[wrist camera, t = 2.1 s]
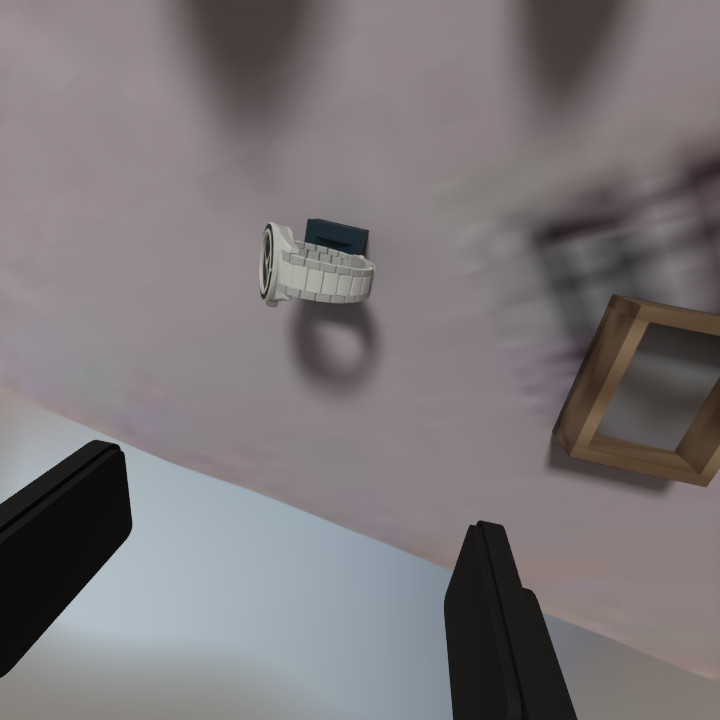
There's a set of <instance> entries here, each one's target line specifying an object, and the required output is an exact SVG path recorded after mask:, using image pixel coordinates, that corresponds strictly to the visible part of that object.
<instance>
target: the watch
mask: <svg viewBox="0 0 720 720" xmlns="http://www.w3.org/2000/svg"><path fill="white" fill-rule="evenodd" d="M368 232H369V230H365V229H360V228H356V227H352V226H347V225H343V224H339V223H334V222H330V221H326V220H321V219H308V222H307V229H306V236H305V242H299V241H295V240H294V236H293V233H292V230H291V229H290V228H289V227H287V226H284V225H278V224H275V223H274V222H269V223H268V224H267V226H266V229H265V232H264V236H263V241H262V247H261V254H260V268H259V282H260V293H261V297H262V299H263V301H266V305H267V306H269V307H277V306H278V301H282V300H292V296H294V297H300V298H302V299H307V300H315V301H319V302H330V303H354V302H360V301H363V300H366V299H367V298H369V296H370V293H371V289H372V285H373V280H374V275H375V270H376V267H375V265H374V264H373V263H372V262H370V261H369V260H367V259H365V258H364V251H365V246H366V241H367V237H368ZM315 295H316V297H315Z"/></svg>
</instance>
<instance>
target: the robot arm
mask: <svg viewBox="0 0 720 720" xmlns="http://www.w3.org/2000/svg"><path fill="white" fill-rule="evenodd" d="M131 530H132V516H131V507H130V499H129V489H128V481H127V472H126V463H125V455H124V452H122V451H121V449H120V447H119V445H117V444H114V443H109V442H104V441H99V440H93V441H91V442H89V443H87V444H86V445H84V446H83V447H82V448H80V449H79V450H77V451H76V452H74V453H73V454H72V455H70V456H69V457H67V458H66V459H64V460H63V461H61V462H60V463H59V464H58V465H56V466H54V467H53V468H51V469H50V470H49V471H47V472H46V473H44V474H43V475H41V476H40V477H39V478H37V479H36V480H34V481H33V482H31V483H30V484H28V485H27V486H26V487H24V488H23V489H21V490H20V491H18V492H17V493H16V494H14V495H13V496H11V497H10V498H8V499H7V500H6V501H4V502H3V503H1V504H0V678H1V677H3V676H4V675H6V674H7V673H8V672H9V671H10V670H11V669H12V668H13V667H14V666H15V665H16V664H17V662H18V661H19V660H20V659H21V658H22V657H23V656H24V654H25V653H26V652H27V651H28V650H29V649H30V647H32V645H33V644H34V643H35V642H36V641H37V640H38V639H39V637H40V636H41V635H42V634H43V633H44V632H45V631H46V630H47V628H48V627H49V626H50V625H51V624H52V623H53V622H54V620H55V619H56V618H57V617H58V616H59V615H60V614H61V613H62V611H63V610H64V609H65V608H66V607H67V606H68V605H69V604H70V602H71V601H72V600H73V599H74V598H75V597H76V596H77V595H78V593H79V592H80V591H81V590H82V589H83V588H84V587H85V586H86V584H87V583H88V582H89V581H90V580H91V579H92V578H93V576H94V575H95V574H96V573H97V572H98V571H99V570H100V569H101V567H102V566H103V565H104V564H105V563H106V562H107V561H108V559H109V558H110V557H111V556H112V555H113V554H114V553H115V551H116V550H117V549H118V548H119V547H120V546H121V545H122V544H123V543H124V541H125V540H126V539H127V538H128V536H129V534H130V532H131ZM444 616H445V628H446V640H447V651H448V663H449V675H450V686H451V698H452V710H453V720H577V717H576V714H575V711H574V708H573V705H572V702H571V699H570V696H569V693H568V690H567V687H566V684H565V681H564V678H563V675H562V672H561V669H560V666H559V663H558V660H557V657H556V654H555V651H554V648H553V645H552V642H551V639H550V636H549V633H548V630H547V627H546V624H545V621H544V618H543V615H542V612H541V609H540V606H539V603H538V600H537V598H536V596H535V594H534V593H533V591H532V590H529V589H526V588H522V584H521V581H520V578H519V575H518V571H517V568H516V565H515V561H514V558H513V555H512V551H511V548H510V545H509V542H508V538H507V535H506V532H505V529H504V527H503V526H502V525H500V524H495V523H490V522H485V521H478V522H477V524H476V526H475V525H470V526H469V528H468V531H467V534H466V537H465V539H464V542H463V545H462V548H461V551H460V554H459V557H458V560H457V563H456V566H455V569H454V572H453V575H452V577H451V580H450V583H449V586H448V589H447V592H446V595H445V600H444Z"/></svg>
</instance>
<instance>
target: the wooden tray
mask: <svg viewBox="0 0 720 720" xmlns="http://www.w3.org/2000/svg"><path fill="white" fill-rule="evenodd" d="M553 432H554V434H555V435H556V437H557V438H558V440H559V441H560V443H561V445H562V446H563V448H564V449H565V451H566V452H567V454H568V456H569V457H574V458H578V459H582V460H587V461H591V462H596V463H600V464H605V465H609V466H613V467H618V468H622V469H627V470H631V471H636V472H640V473H644V474H649V475H653V476H658V477H662V478H667V479H671V480H676V481H680V482H684V483H689V484H693V485H698V486H702V487H707V486H708V484H709V483H710V481H711V480H712V479H713V477H714V476H715V474H716V473H717V471H718V470H719V468H720V315H717V314H712V313H706V312H701V311H696V310H691V309H686V308H681V307H676V306H671V305H666V304H661V303H655V302H650V301H645V300H640V299H635V298H630V297H625V296H620V295H615V294H613V295H612V298H611V300H610V302H609V304H608V307H607V309H606V311H605V313H604V316H603V318H602V320H601V323H600V325H599V327H598V329H597V332H596V334H595V336H594V338H593V341H592V343H591V345H590V347H589V350H588V352H587V354H586V356H585V359H584V361H583V363H582V365H581V368H580V370H579V372H578V374H577V377H576V379H575V381H574V383H573V386H572V388H571V390H570V392H569V395H568V397H567V399H566V401H565V404H564V406H563V408H562V411H561V413H560V415H559V417H558V420H557V422H556V424H555V426H554V429H553Z"/></svg>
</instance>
